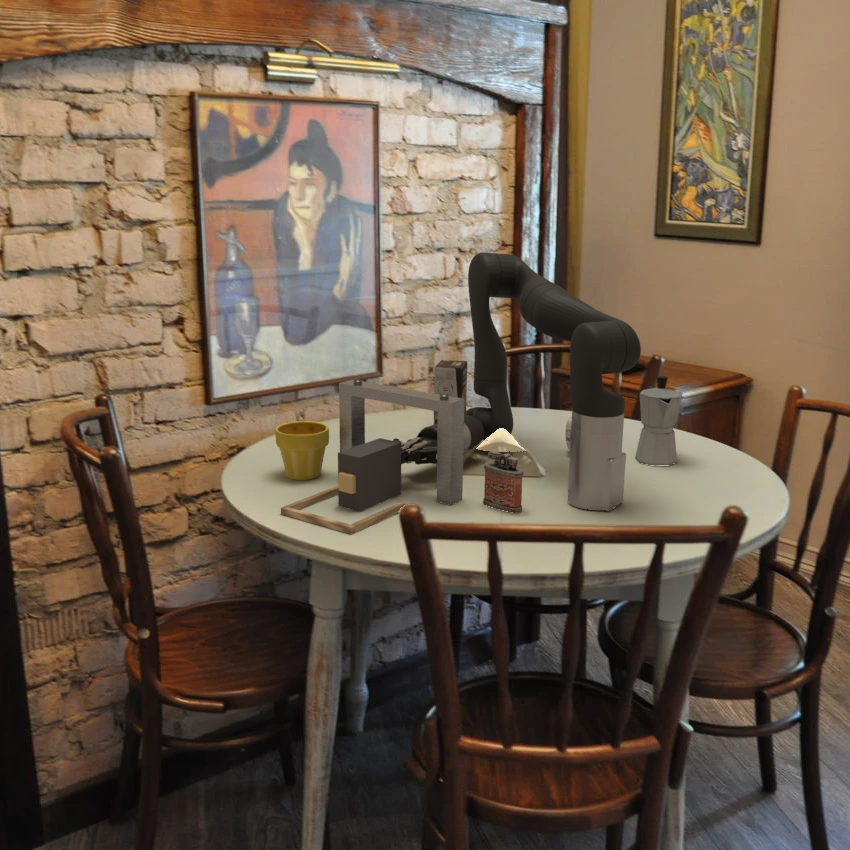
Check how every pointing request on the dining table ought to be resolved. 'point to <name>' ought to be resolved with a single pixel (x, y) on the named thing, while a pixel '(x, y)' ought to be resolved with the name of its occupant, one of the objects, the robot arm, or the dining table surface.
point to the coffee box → (451, 381)
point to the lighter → (503, 483)
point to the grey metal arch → (446, 406)
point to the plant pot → (302, 448)
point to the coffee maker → (658, 424)
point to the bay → (295, 512)
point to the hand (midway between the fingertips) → (391, 460)
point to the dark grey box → (369, 474)
